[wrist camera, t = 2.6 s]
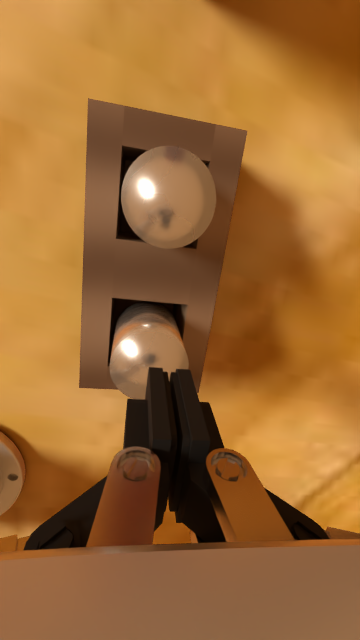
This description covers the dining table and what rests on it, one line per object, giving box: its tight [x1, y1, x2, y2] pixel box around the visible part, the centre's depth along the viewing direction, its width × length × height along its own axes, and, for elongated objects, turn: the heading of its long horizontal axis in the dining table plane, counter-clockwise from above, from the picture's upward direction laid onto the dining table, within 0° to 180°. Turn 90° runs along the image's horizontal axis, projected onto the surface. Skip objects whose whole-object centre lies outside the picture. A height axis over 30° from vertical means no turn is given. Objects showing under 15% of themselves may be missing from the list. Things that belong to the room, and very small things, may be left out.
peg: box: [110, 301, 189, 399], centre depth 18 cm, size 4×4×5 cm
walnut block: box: [79, 99, 247, 393], centre depth 21 cm, size 16×8×6 cm, turn 172°
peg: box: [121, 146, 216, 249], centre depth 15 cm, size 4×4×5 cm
